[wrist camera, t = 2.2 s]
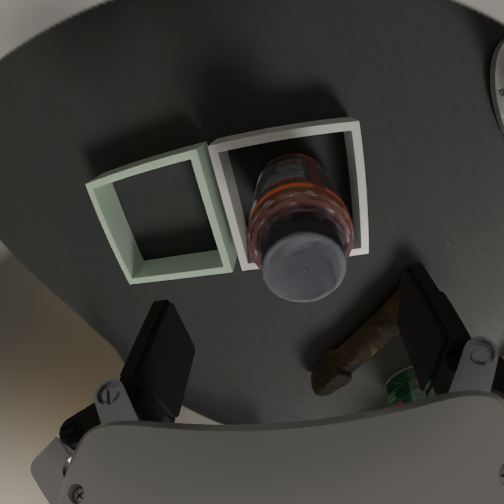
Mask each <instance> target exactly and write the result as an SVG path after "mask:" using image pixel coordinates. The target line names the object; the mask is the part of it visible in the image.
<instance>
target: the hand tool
mask: <svg viewBox="0 0 504 504" xmlns="http://www.w3.org/2000/svg"><path fill="white" fill-rule="evenodd" d="M400 290H401V281H400V283H399V288H398V290H397V291H396V292H395V293H394V294H393V295H392V296H391V297H390V298H389V299H388V300H387V301H386V302H385V304H384V305H383V306H382V307H381V308H380V309H379V310H378V311H377V312H376V313H375V314H374V315H373V316H372V317H370V318H368V319H367V321H366V323H365V324H363V325H362V326H361V327H360V328H359V329H358V330H357V331H356V332H355V333H354V334H353V335H352V336H351V337H349V338H348V339H347V340H346V341H345V342H344V343H343V344H342V345H341V346H340V347H333V348H331V349H330V350H329V351H328V352H327V353H326V354H325V355H324V356H323V357H322V359H321V360H320V362H319V363H318V364H317V366H316V367H315V369H314V371H313V372H312V374H311V383H312V388H313V390H314V392H315V394H316V395H319V396H326V395H329V394H332V393H333V392H334V391H335V390H337V389H339V388H341V387H343V386H345V385H346V384H348V383H349V382H350V381H351V380H352V373H353V372H354V371H355V370H356V369H357V368H358V367H360V366H361V365H362V364H363V363H365V362H366V361H367V360H368V359H370V358H371V357H372V356H373V355H375V354H376V353H377V352H378V351H379V350H381V349H382V348H383V347H384V346H385V345H386V344H388V343H389V342H390V341H391V340H392V339H393V338H394V337H396V336H397V335H398V334H399V333H400V331H399V329H398V326H397V314H398V306H399V298H400Z"/></svg>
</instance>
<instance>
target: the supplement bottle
mask: <svg viewBox="0 0 504 504" xmlns="http://www.w3.org/2000/svg"><path fill="white" fill-rule="evenodd" d="M353 242H354V228H353V224H352V220H351V217H350V214H349V212H348V210H347V208H346V206H345V203H344V202H343V200H342V198H341V196H340V194H339V192H338V190H337V188H336V186H335V184H334V182H333V181H332V179H331V177H330V175H329V173H328V172H327V170H326V169H325V168H324V167H323V165H322V164H320V163H319V162H318V161H317V160H315V159H313V158H311V157H309V156H307V155H303V154H297V153H293V154H286V155H282V156H279V157H277V158H275V159H273V160H272V161H270V162H269V163H268V164H267V165H266V166H265V168H264V169H263V170H262V172H261V174H260V176H259V178H258V181H257V185H256V190H255V194H254V199H253V204H252V208H251V213H250V218H249V223H248V228H247V243H248V248H249V252H250V255H251V257H252V259H253V261H254V263H255V264H256V265H257V266H258V268H259V269H260V270H262V276H263V279H264V281H265V283H266V285H267V286H268V288H269V289H270V290H271V291H272V292H273V293H275V294H276V295H277V296H279V297H281V298H283V299H285V300H289V301H293V302H312V301H316V300H319V299H321V298H323V297H325V296H327V295H329V294H331V293H332V292H333V291H334V290H335V289H336V288H337V287H338V286H339V285H340V284H341V282H342V280H343V278H344V276H345V272H346V260H347V259H348V257H349V255H350V253H351V251H352V247H353Z"/></svg>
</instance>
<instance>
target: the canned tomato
mask: <svg viewBox="0 0 504 504" xmlns="http://www.w3.org/2000/svg"><path fill="white" fill-rule="evenodd" d="M385 391H386V396H387V401H388V405H389V407H391V406H396V405H400V404H404V403H408V402H412V401H416V400H420V399H424V398H427V396H426V393H425V391H423V392H422V391H421V389H420V386H419V383H418V380H417V377H416V375H415V372H414V369H413V366H409V367H406V368H404V369H401V370H400V371H398V372H396V373H395V374H393V375H392V376H391V377H390V378H389V379H388V380H387V382H386V383H385ZM434 396H436V395H434ZM431 397H432V396H431Z"/></svg>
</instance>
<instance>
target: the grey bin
mask: <svg viewBox="0 0 504 504" xmlns="http://www.w3.org/2000/svg"><path fill="white" fill-rule="evenodd" d="M343 131H344V138H345V145H346V153H347V161H348V170H349V179H350V189H351V201H352V213H353V228H354V242H353V247H352V251H351V253H350V255H349V256H354V255H361V254H368V253H369V237H368V210H367V192H366V179H365V167H364V157H363V148H362V139H361V131H360V124H359V121H358V120H355V119H353V118H351V117H342V118H333V119H324V120H316V121H309V122H302V123H295V124H289V125H283V126H277V127H271V128H266V129H260V130H255V131H250V132H245V133H240V134H236V135H231V136H227V137H222V138H218V139H216V140H215V141H213V142H212V143H211V144H210V145H208V150H209V154H210V157H211V161H212V165H213V168H214V172H215V176H216V179H217V183H218V187H219V190H220V194H221V197H222V201H223V205H224V208H225V212H226V215H227V219H228V222H229V226H230V229H231V233H232V237H233V240H234V244H235V247H236V251H237V254H238V258H239V261H240V265H241V268H242V271H245V270H253V269H259V268H258V266H257V265H256V264H255V263H254V261H253V259H252V257H251V255H250V252H249V248H248V243H247V225H246V221H245V217H244V214H243V210H242V206H241V202H240V198H239V194H238V190H237V186H236V182H235V178H234V174H233V170H232V166H231V162H230V158H229V155H228V151H227V150H232V149H237V148H241V147H246V146H251V145H256V144H262V143H267V142H273V141H279V140H285V139H291V138H297V137H304V136H311V135H318V134H326V133H334V132H343Z"/></svg>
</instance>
